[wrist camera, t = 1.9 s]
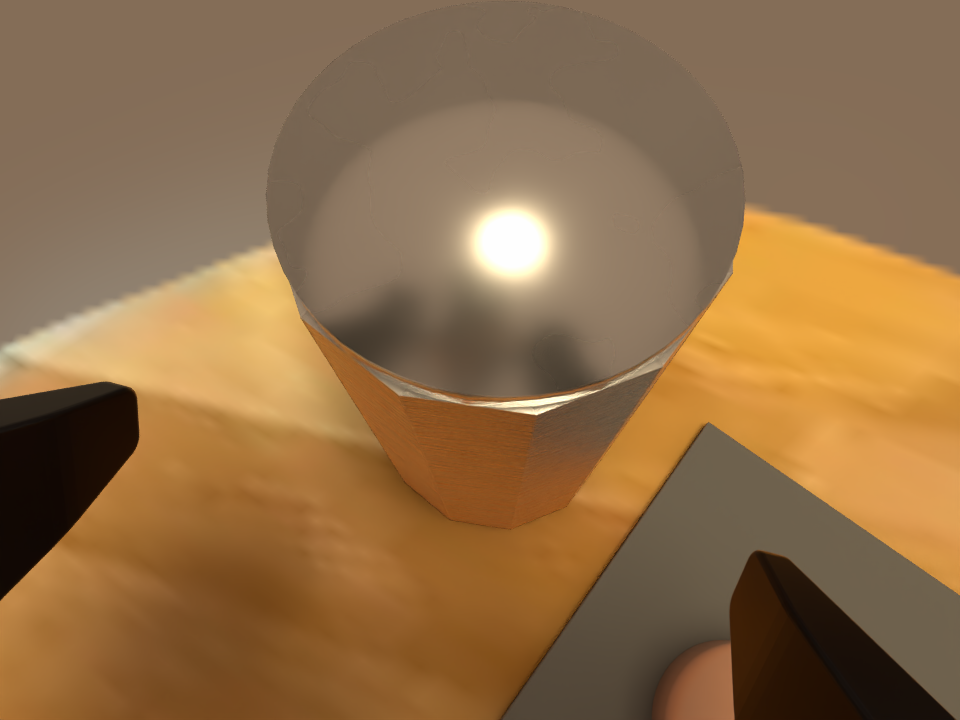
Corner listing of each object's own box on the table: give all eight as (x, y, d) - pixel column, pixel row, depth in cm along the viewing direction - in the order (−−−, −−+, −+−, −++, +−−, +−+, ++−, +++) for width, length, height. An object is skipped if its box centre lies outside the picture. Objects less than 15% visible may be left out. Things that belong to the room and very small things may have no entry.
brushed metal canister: (515, 574, 19) (555, 510, 8) (345, 433, 21) (166, 204, 9) (644, 400, 21) (832, 138, 10) (479, 284, 23) (469, -57, 11)
